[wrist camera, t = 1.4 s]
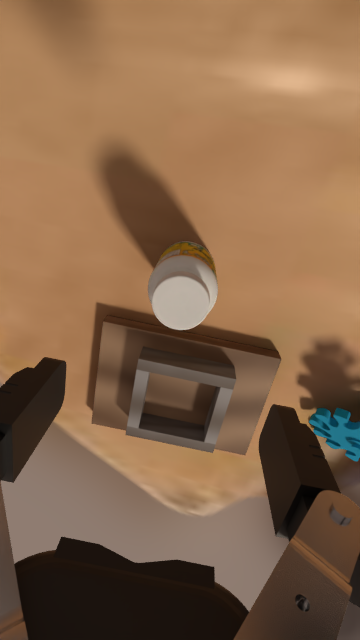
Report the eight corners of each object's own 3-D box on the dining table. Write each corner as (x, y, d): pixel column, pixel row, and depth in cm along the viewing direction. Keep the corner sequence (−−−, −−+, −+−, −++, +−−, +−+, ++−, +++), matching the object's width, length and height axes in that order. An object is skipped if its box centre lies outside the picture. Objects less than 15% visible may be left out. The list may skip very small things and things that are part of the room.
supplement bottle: (148, 259, 31) (125, 290, 22) (196, 228, 29) (193, 248, 20) (178, 305, 32) (168, 351, 24) (225, 278, 31) (234, 316, 22)
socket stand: (107, 315, 33) (95, 332, 30) (278, 351, 33) (287, 373, 30) (95, 414, 38) (83, 439, 35) (243, 444, 39) (247, 473, 35)
